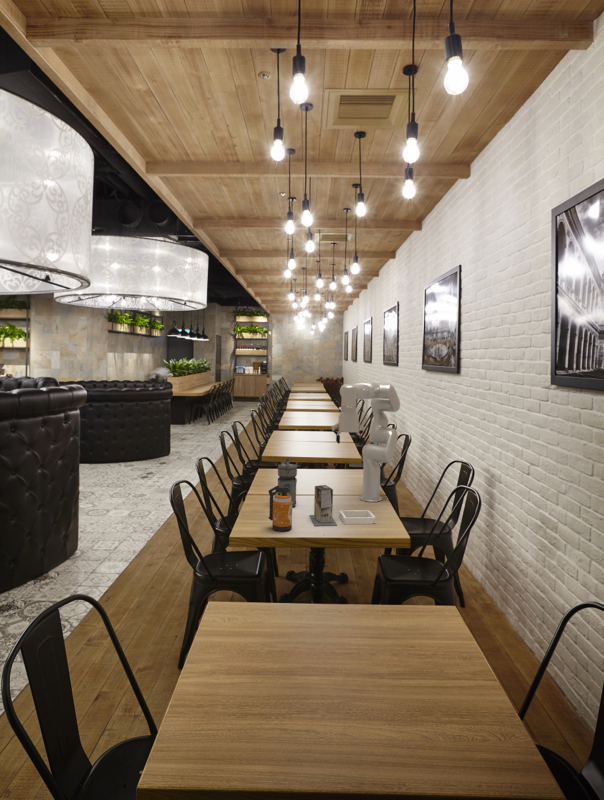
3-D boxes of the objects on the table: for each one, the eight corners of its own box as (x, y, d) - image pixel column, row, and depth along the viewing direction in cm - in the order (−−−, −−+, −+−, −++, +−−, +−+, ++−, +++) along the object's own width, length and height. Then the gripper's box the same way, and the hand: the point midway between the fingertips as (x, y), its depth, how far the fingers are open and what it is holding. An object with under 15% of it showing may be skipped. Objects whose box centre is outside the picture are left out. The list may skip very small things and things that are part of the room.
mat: (309, 515, 254) (309, 515, 254) (330, 515, 255) (330, 514, 255) (314, 526, 238) (314, 525, 238) (337, 525, 239) (337, 524, 239)
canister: (289, 532, 228) (290, 489, 227) (265, 530, 230) (266, 487, 229) (293, 526, 237) (294, 484, 235) (270, 524, 239) (271, 482, 238)
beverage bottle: (295, 501, 278) (296, 457, 276) (296, 509, 265) (297, 462, 263) (277, 501, 278) (278, 456, 276) (277, 508, 264) (277, 461, 262)
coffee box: (332, 522, 244) (333, 489, 242) (320, 523, 241) (321, 490, 240) (325, 516, 252) (326, 484, 251) (313, 517, 250) (314, 485, 249)
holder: (338, 516, 254) (339, 510, 254) (368, 515, 256) (368, 510, 256) (344, 524, 242) (344, 518, 241) (375, 523, 244) (375, 517, 243)
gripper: (333, 410, 251) (332, 444, 253) (367, 410, 254) (366, 444, 255) (330, 408, 259) (329, 441, 260) (363, 409, 261) (362, 441, 262)
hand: (347, 443), depth 257 cm, fingers open, 9 cm apart
